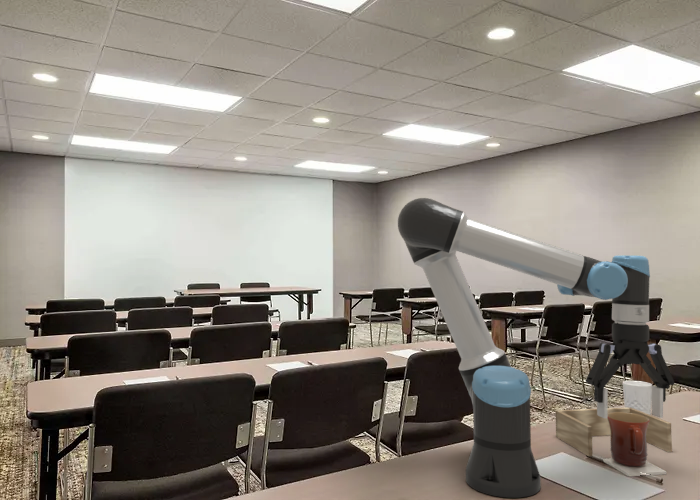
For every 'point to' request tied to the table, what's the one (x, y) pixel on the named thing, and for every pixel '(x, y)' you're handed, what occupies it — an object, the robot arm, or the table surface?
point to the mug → (628, 438)
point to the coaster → (636, 468)
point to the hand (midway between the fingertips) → (629, 416)
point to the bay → (605, 428)
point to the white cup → (638, 395)
